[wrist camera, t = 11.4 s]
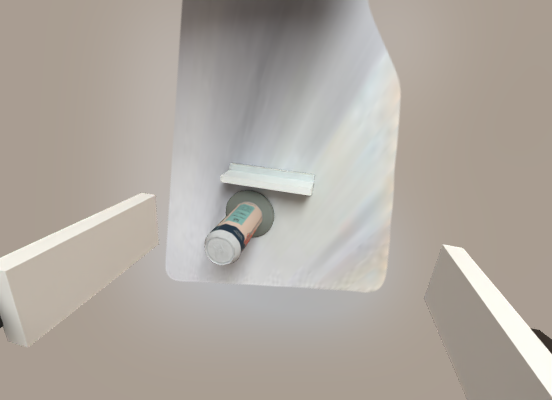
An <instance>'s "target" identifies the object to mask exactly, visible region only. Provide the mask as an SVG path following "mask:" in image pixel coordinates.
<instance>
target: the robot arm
mask: <svg viewBox="0 0 552 400" xmlns="http://www.w3.org/2000/svg"><path fill="white" fill-rule="evenodd" d="M158 244H159V240H158V226H157V210H156V196H155V195H151V194H146V193H140V194H138V195H136V196H133V197H131V198H129V199H127V200H125V201H123V202H120V203H118V204H116V205H114V206H112V207H110V208H107V209H105V210H103V211H101V212H99V213H97V214H94V215H92V216H90V217H88V218H86V219H84V220H81V221H79V222H77V223H75V224H73V225H71V226H68V227H66V228H64V229H62V230H60V231H58V232H55V233H53V234H51V235H49V236H47V237H45V238H43V239H40V240H38V241H36V242H34V243H31V244H29V245H27V246H25V247H23V248H21V249H18V250H16V251H14V252H12V253H10V254H8V255H6V256H3V257H1V258H0V328H1V327H2V326H3V328H4V331H5V334H6V337H7V340H8V341H9V342H12V343H16V344H19V345H22V346H25V347H29V346H30V345H32V344H33V343H34V342H36V341H37V340H38V339H39V338H41V337H42V336H43V335H44V334H46V333H47V332H48V331H49V330H51V329H52V328H53V327H54V326H56V325H57V324H58V323H60V322H61V321H62V320H63V319H65V318H66V317H67V316H68V315H70V314H71V313H72V312H74V311H75V310H76V309H77V308H79V307H80V306H81V305H82V304H84V303H85V302H86V301H88V300H89V299H90V298H91V297H93V296H94V295H95V294H96V293H98V292H99V291H100V290H101V289H103V288H104V287H105V286H106V285H108V284H109V283H110V282H111V281H113V280H114V279H115V278H117V277H118V276H119V275H120V274H122V273H123V272H124V271H126V270H127V269H128V268H129V267H131V266H132V265H133V264H134V263H136V262H137V261H138V260H139V259H140V258H142V257H143V256H145V255H146V254H147V253H148V252H150V251H151V250H152V249H153V248H155V247H156V246H157V245H158ZM424 300H425V302H426V304H427V307H428V309H429V312H430V314H431V316H432V319H433V321H434V323H435V326H436V328H437V330H438V333H439V335H440V337H441V340H442V342H443V344H444V347H445V349H446V352H447V354H448V356H449V359H450V361H451V363H452V366H453V368H454V370H455V373H456V375H457V377H458V380H459V382H460V384H461V387H462V389H463V391H464V394H465V396H466V399H467V400H552V339H550V338H549V337H548V336H546V335H545V334H544V333H543V332H541V331H540V330H536V329H531V328H529V326H528V325H527V324H526V323H525V322H524V321H523V319H522V318H521V317H520V316H519V315H518V314H517V312H516V311H515V310H514V308H512V306H511V305H510V304H509V303H508V301H507V300H506V299H505V298H504V297H503V295H502V294H501V293H500V292H499V291H498V289H497V288H496V287H495V286H494V285H493V283H492V282H491V281H490V280H489V279H488V277H487V276H486V275H485V274H484V273H483V271H482V270H481V269H480V268H479V267H478V266H477V264H476V263H475V262H474V261H473V260H472V258H471V257H470V256H469V255H468V254H467V252H466V251H465V250H464V249H463V248H460V247H454V246H449V245H442V248H441V251H440V253H439V256H438V259H437V262H436V265H435V268H434V271H433V274H432V277H431V280H430V282H429V285H428V288H427V291H426V294H425V297H424Z"/></svg>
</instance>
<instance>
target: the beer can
mask: <svg viewBox="0 0 552 400" xmlns="http://www.w3.org/2000/svg"><path fill="white" fill-rule="evenodd" d="M262 220H263V215H262V211H261V210H260V208H259V207H258V206H257V205H256V204H254V203H252V202H242V203H240V204H238V205H237V206H236V207H235V208H234V209H233V210H232V211H231V212H230V213H229V214H228V215H227V216H226V217H225V218H224V219H223V220H222V221H221V222H220V223H219V224H218V225H217V226H216V227H215V228H214V229H213V230H212V231H211V232H210V233H209V234H208V235H207V237H206V239H205V246H204V247H205V253H206V256H207V257H208V258H209V259H210V260H211V261H212V263H215V264H218V265H221V266H222V265H227V264H231V263H234V262H235V261H236V260H238V258H239V256H240V254H241V252H242V251H243V249H244V248H245V246H246V245H247V243H248V242H249V240H250V238H251V237H252V235H253V234H254V232H255V231H256V229H257V228H258V226H259V225H260V224H261V223H262Z"/></svg>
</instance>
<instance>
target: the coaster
mask: <svg viewBox="0 0 552 400" xmlns="http://www.w3.org/2000/svg"><path fill="white" fill-rule="evenodd" d="M242 202H252V203H254V204H256V205H257V206H258V207H259V208H260V210H261V211H262V215H263V220H262V223H261V224H260V225H259V226H258V228H257V229H256V231H255V232H254V234H253V235H252V237H258V236H261V235H263V234H265V233H266V232H267V231H268V230H269V229H270V228H271V226H272V224H273V221H274V211H273V208H272V205H271V204H270V202H269V201H268V200H267V198H266V197H264V196H263V195H262V194H260V193H258V192H255V191H250V190H245V191H240V192H238V193H236V194H235V195H233V196H232V197H231V198H230V200H229V201H228V203H227V206H226V216H227V215H228V214H229V213H230V212H231V211H232V210H233V209H234V208H235V207H236V206H237V205H238V204H240V203H242Z"/></svg>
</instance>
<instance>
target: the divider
mask: <svg viewBox="0 0 552 400" xmlns="http://www.w3.org/2000/svg"><path fill="white" fill-rule="evenodd" d="M314 178H315V174H308V173H301V172H294V171H287V170H280V169H272V168H265V167H258V166H251V165H243V164H236V163H230V170H229V171H227V172H225V173H224V174H222V175H221V182H223V183H230V184H237V185H243V186H250V187H256V188H263V189H269V190H276V191H283V192H289V193H296V194H302V195H309V196H311V195H312V192H313V185H314Z"/></svg>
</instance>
